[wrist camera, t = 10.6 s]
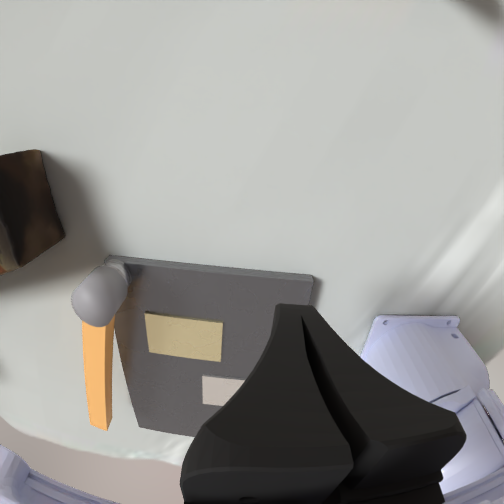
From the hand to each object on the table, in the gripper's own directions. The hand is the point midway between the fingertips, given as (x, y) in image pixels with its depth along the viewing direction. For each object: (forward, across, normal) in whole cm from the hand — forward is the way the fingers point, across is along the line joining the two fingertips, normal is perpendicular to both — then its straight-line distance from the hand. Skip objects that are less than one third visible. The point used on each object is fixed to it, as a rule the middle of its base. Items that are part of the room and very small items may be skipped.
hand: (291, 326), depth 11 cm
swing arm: (+8, +13, +11) cm, 18 cm away
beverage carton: (+11, +26, +1) cm, 28 cm away
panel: (+10, +4, +14) cm, 18 cm away
